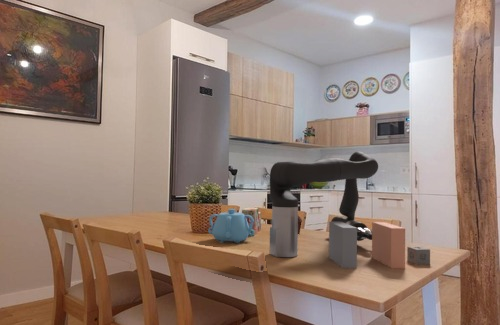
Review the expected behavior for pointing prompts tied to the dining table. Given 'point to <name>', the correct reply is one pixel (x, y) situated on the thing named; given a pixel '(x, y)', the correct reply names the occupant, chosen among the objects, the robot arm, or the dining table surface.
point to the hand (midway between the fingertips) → (372, 237)
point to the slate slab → (343, 244)
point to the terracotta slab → (388, 244)
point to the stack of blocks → (256, 217)
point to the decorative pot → (231, 226)
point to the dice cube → (418, 255)
